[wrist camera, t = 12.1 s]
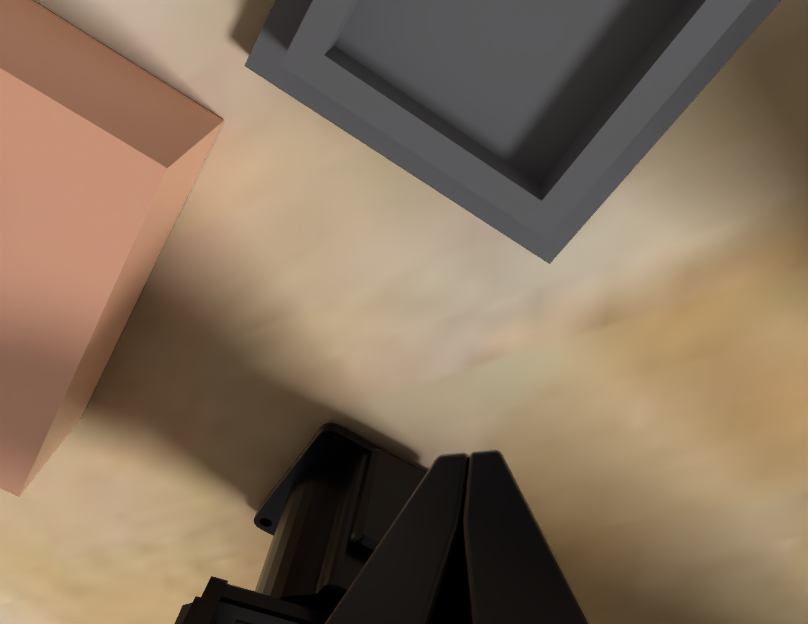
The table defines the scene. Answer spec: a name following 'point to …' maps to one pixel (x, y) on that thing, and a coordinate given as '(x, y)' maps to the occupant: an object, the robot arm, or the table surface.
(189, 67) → the table surface
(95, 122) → the hub block
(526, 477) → the table surface
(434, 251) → the table surface
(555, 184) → the stand
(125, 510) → the table surface
